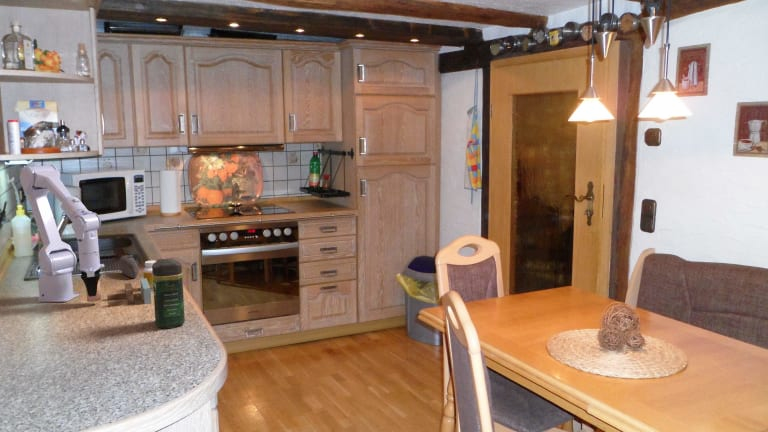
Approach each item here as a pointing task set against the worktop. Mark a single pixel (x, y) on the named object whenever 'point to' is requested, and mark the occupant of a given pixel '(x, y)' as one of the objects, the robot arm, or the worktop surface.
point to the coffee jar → (168, 293)
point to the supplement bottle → (149, 273)
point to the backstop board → (145, 291)
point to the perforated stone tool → (128, 266)
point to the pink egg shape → (98, 295)
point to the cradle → (127, 295)
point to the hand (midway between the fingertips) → (92, 294)
